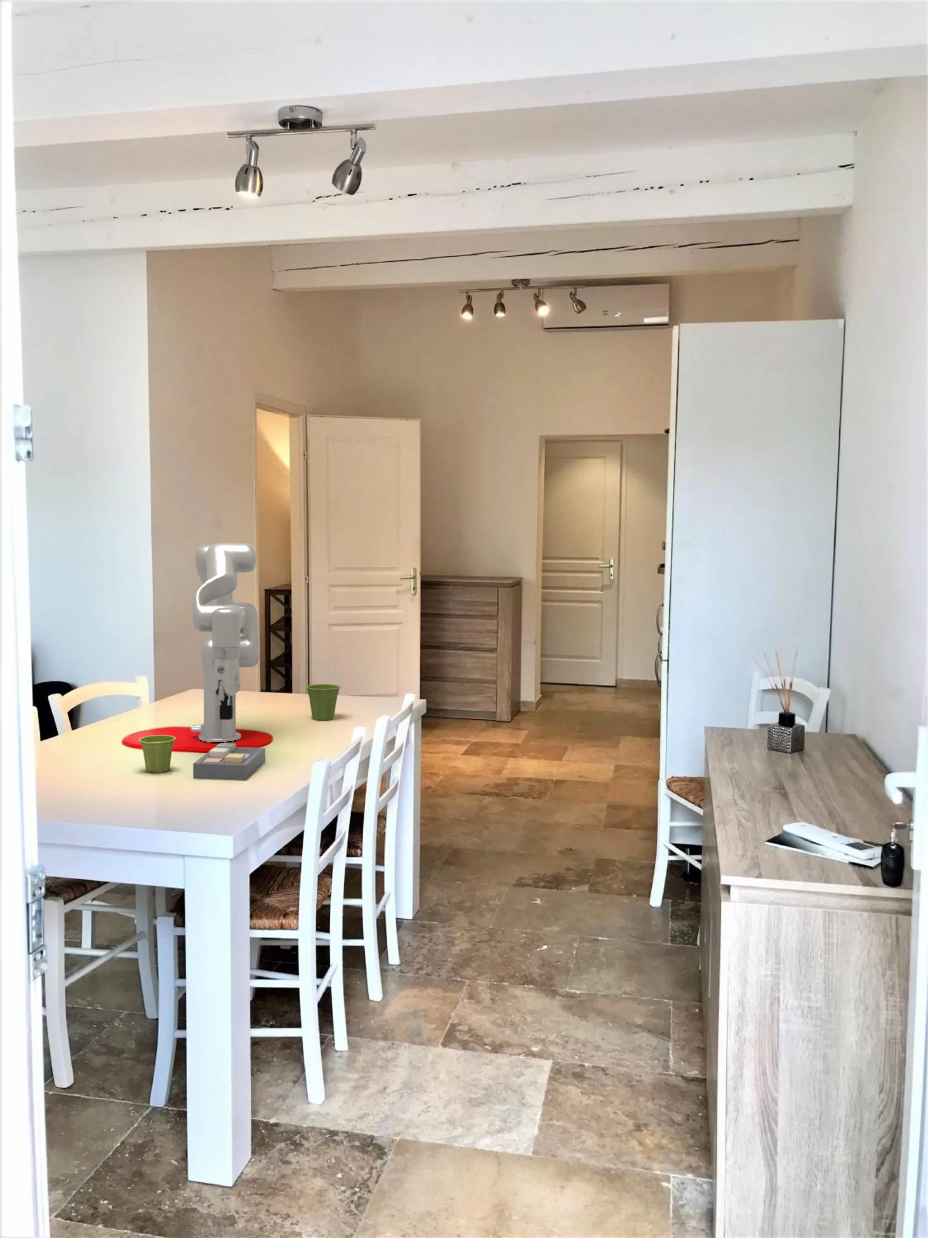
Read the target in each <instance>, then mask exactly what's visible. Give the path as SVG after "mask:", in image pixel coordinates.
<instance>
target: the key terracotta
mask: <svg viewBox="0 0 928 1238" xmlns="http://www.w3.org/2000/svg"><path fill="white" fill-rule="evenodd" d="M222 760H223V759H222V758H207V759H205V760H204V761H203V762H208V763H220V762H221V761H222Z"/></svg>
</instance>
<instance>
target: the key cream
mask: <svg viewBox="0 0 928 1238" xmlns="http://www.w3.org/2000/svg"><path fill="white" fill-rule="evenodd" d="M209 751H210V757H224V758H225V757H226V756H227V755H228V754H229V748H215V747H213V748H211V749H210V750H209Z"/></svg>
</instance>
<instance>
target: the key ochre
mask: <svg viewBox="0 0 928 1238" xmlns="http://www.w3.org/2000/svg"><path fill="white" fill-rule="evenodd" d="M244 761H245V754H231V753H230V754H228V755H227V756H226V757H225V763H236V764H242V763H243V762H244Z"/></svg>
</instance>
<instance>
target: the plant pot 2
mask: <svg viewBox="0 0 928 1238" xmlns="http://www.w3.org/2000/svg"><path fill="white" fill-rule="evenodd" d="M341 686H342V685H337V684H331V683H320V684H319V683H317V684H316V683H315V684H314V683H313V684H309V685H306V686H305V689H306V690H307V694H308V699H309V705H310V711H311V716H312V717H311V718H312V720H314V721H319V720H320V721H324V722H325V721H332V720H333V719H334V718H335V713H336V706H337V700H338V695H339V692H340V689H341Z"/></svg>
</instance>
